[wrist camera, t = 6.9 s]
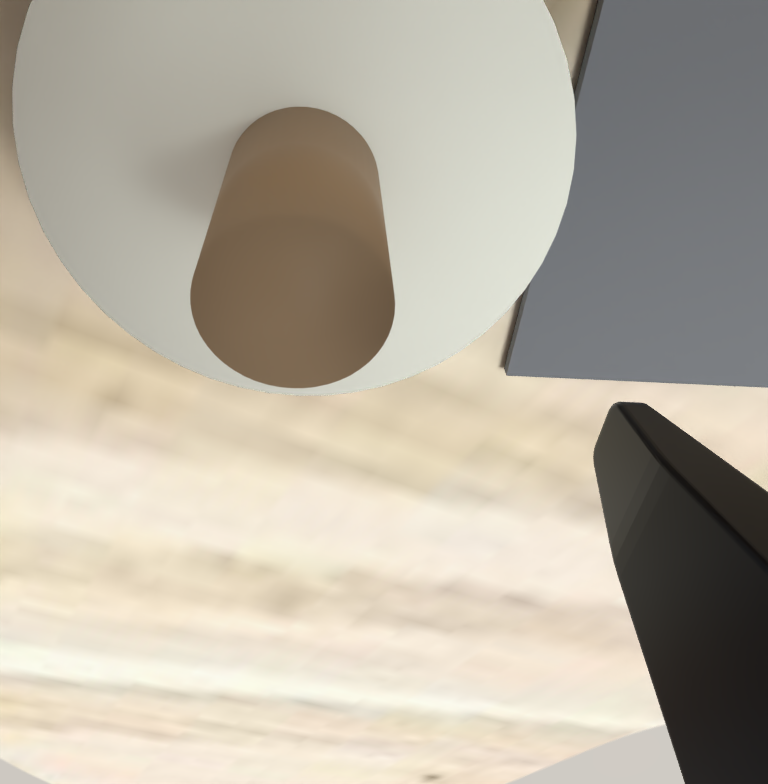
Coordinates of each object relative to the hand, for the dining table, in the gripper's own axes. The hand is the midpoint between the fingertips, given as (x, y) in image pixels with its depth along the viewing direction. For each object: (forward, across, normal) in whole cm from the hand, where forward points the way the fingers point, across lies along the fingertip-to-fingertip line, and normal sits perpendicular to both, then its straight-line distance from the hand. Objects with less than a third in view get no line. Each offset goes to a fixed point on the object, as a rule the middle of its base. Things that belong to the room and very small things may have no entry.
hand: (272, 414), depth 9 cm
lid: (+8, 0, 0) cm, 8 cm away
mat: (+12, -12, +2) cm, 17 cm away
